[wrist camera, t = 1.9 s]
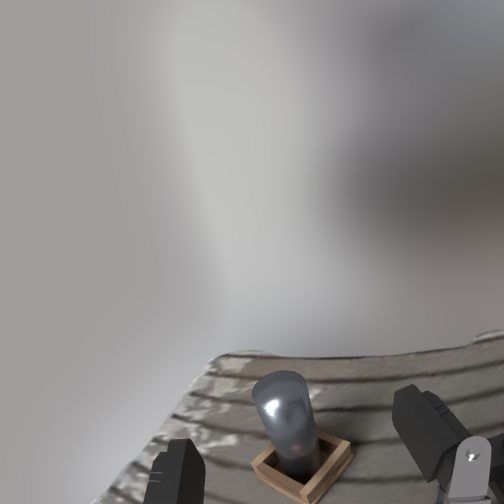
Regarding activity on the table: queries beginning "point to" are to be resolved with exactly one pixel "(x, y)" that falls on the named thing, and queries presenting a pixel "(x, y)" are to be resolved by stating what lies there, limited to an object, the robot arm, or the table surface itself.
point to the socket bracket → (311, 492)
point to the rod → (289, 422)
